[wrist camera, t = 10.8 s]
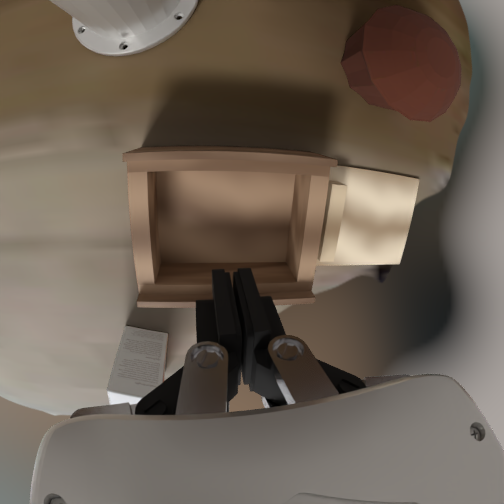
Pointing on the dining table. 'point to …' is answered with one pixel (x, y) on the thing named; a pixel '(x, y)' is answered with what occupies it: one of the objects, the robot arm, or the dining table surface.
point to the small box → (137, 365)
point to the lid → (366, 217)
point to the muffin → (403, 63)
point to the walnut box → (225, 220)
